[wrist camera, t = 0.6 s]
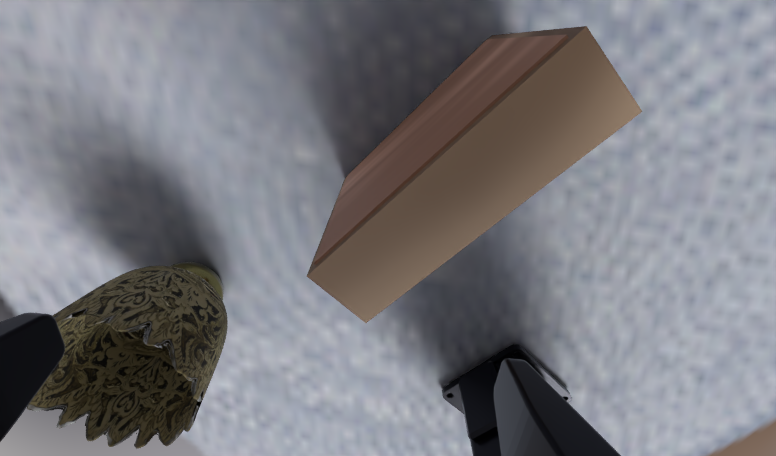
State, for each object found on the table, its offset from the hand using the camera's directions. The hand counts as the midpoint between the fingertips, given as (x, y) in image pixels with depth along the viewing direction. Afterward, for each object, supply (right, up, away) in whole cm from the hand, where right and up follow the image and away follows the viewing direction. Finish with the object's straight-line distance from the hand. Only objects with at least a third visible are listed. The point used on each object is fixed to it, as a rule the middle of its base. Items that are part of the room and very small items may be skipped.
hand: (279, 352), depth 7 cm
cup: (-9, -1, +15) cm, 18 cm away
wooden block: (+4, +7, +11) cm, 13 cm away
